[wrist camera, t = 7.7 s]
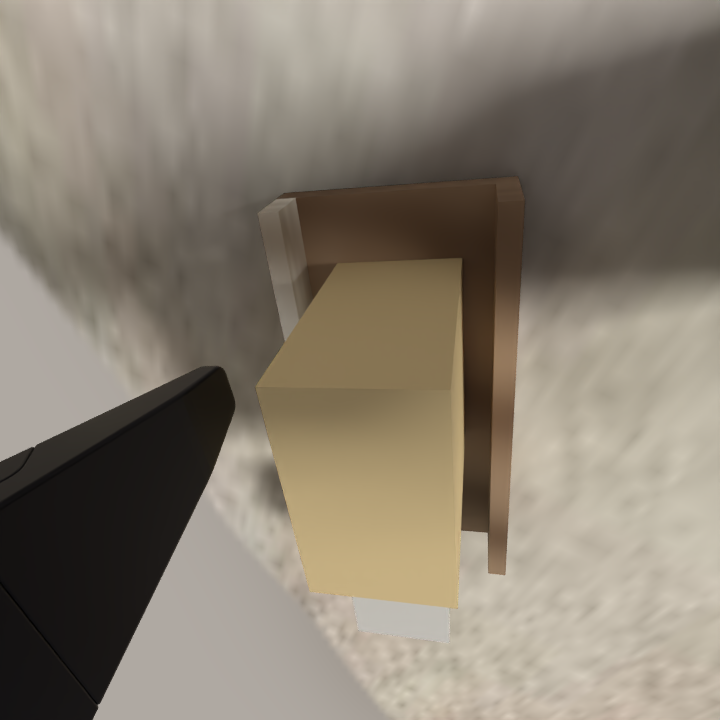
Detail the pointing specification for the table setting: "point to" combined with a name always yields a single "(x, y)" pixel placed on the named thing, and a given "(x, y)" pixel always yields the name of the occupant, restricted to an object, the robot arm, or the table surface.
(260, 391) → the carton
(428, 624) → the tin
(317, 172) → the table surface
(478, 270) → the shelf
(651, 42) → the table surface
